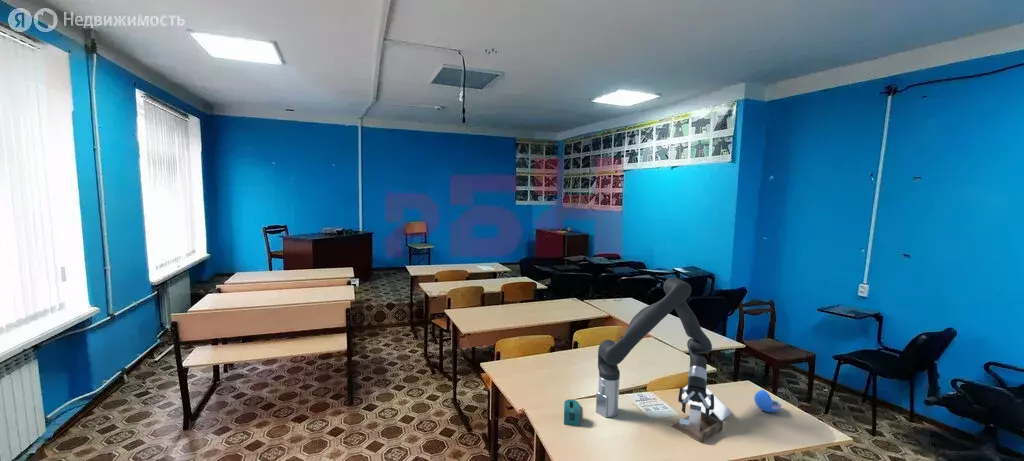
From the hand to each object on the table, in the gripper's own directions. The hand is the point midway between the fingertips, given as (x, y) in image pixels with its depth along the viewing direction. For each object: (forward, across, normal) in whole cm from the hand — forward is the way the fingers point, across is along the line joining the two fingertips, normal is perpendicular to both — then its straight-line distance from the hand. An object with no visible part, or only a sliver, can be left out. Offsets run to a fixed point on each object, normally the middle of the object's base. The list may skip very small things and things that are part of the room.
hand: (695, 415), depth 172 cm
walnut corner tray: (+3, +1, +6) cm, 7 cm away
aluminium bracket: (+3, -2, +5) cm, 6 cm away
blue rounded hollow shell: (-19, +31, +29) cm, 47 cm away
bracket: (+14, -51, -4) cm, 53 cm away
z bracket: (-12, +4, +22) cm, 25 cm away
